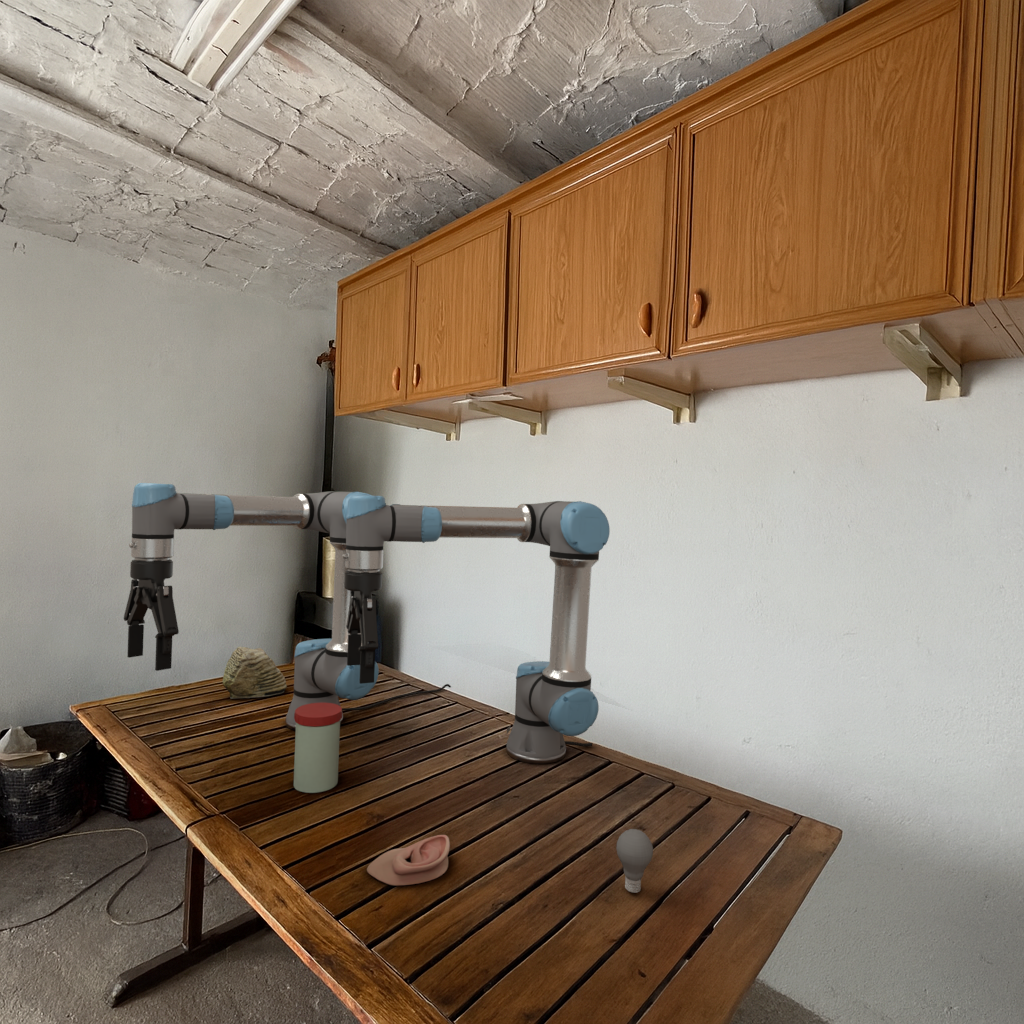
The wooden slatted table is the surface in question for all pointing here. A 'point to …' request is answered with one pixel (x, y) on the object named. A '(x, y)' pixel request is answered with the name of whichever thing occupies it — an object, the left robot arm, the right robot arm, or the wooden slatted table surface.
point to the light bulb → (634, 857)
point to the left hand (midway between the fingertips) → (148, 662)
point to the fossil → (252, 674)
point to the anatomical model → (412, 862)
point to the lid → (318, 714)
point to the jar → (316, 757)
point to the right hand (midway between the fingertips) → (359, 673)
